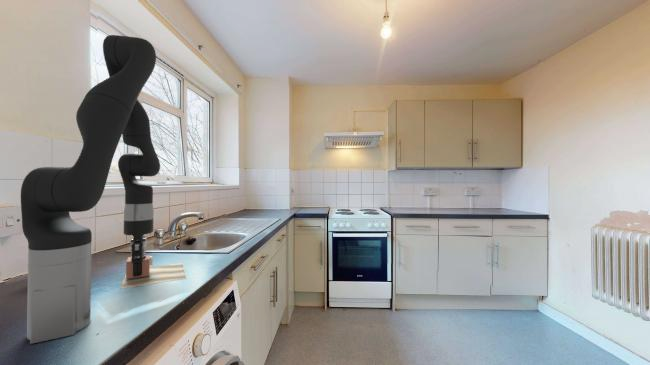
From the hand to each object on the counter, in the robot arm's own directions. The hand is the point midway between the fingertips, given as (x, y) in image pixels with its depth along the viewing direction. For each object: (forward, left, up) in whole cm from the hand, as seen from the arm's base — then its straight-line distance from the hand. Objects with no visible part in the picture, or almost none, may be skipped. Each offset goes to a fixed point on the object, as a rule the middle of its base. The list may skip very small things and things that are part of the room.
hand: (138, 272), depth 82 cm
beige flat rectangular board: (0, -5, -2) cm, 5 cm away
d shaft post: (0, 0, -2) cm, 2 cm away
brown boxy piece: (0, 0, -1) cm, 1 cm away
